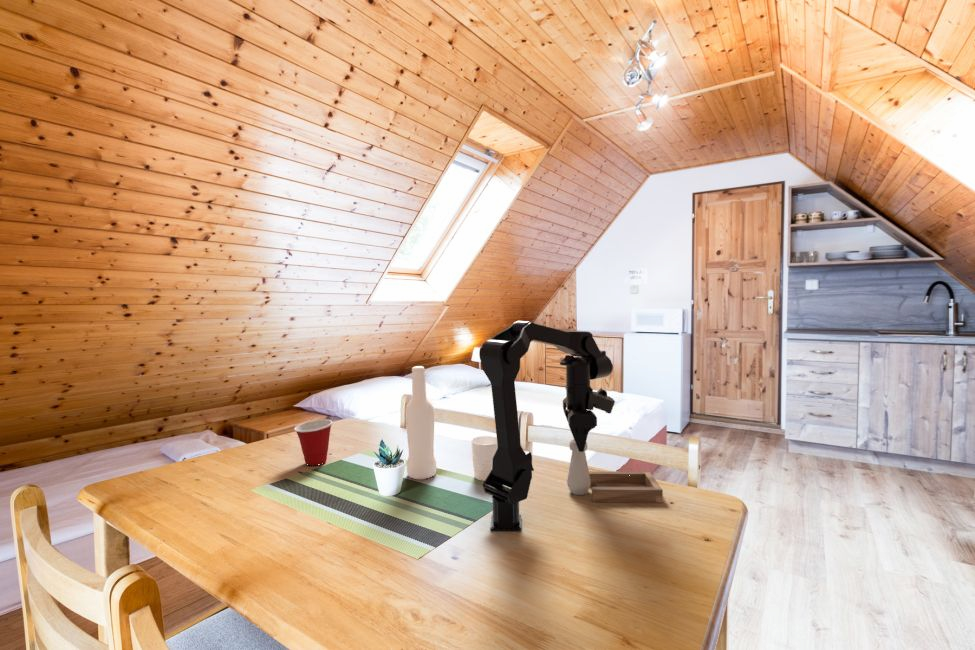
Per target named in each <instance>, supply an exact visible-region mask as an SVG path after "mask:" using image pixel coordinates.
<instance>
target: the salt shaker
mask: <svg viewBox="0 0 975 650" xmlns="http://www.w3.org/2000/svg"><path fill="white" fill-rule="evenodd" d="M568 448H569V449H570V451H571V457H570V462H569V468H568V471H567V479H566V485H567V487H568V489H569V492H570V494H572V493H573V495H575V496H585V495H586V494H588V493H589V490H590V489H591V488H590V487H591V486H592V485H591V481H590V476H589V472H590V471H589V466H588V461H587V456H586V451H587V450H588V443H587V441H586V444H585V448H584V451H583V452H579V450H578V448H577V445H576V442H575V440H574V438H573V439H571V440H570V441H569V447H568ZM587 492H588V493H587ZM584 494H585V495H584Z"/></svg>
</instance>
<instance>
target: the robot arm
mask: <svg viewBox="0 0 975 650" xmlns="http://www.w3.org/2000/svg"><path fill="white" fill-rule="evenodd" d="M593 336H594V335H593V333H592V332H590V331H586V330H585V331H583V330H562V329H557V328H554V327H551V326H550V327H549V326H546V325H542V324H539V323H535V322H534V321H529V320H527V321H526V320H525V321H524V320H517V321H514V322H513V323H512V324H511V325H509V326H508V327H507V328H506V329H504V330H502V331H499V332H498V333H496V334H495V335H493V337H491V338H490V339H487V340H486V341H484V343H483V344H482V345H481V347H480V348H479V353H478V354H479V359H480V364H481V366H482V370H483V372H484V374H485V376H486V377H487V379H488V381H489V383H490V386H491V397H492V406H493V414H494V415H493V417H494V424H495V434H496V437H497V444H498V448H497V450H496V452H495V455H494V457H493V463H492V470H491V472H490V473H489V475H488V477H487V478H486V480H485V481H483V483H482V487H483V491H484V493H485V494H488V495H490V496H491V498H492V499H491V500H492V503H491V504H492V505H491V506H492V514H491V519H490V525H489V527H490V529H489V530H490V531H511V532H512V531H513V532H514V531H522V514H520V502H521V501H525V500H527V498H528V496H529V492H530V491H529V490H530V488H531V487H530V486H531V483H532V479H533V472H534V470H535V468H534V466H533V455H532V452H530V451H528V450H524V449H523V447H522V445H521V435H520V424H519V414H518V405H517V394H516V387H515V385H516V384H515V381H516V379H517V376H518V375H519V372H520V369H521V358H523V357H524V356H525V355H526V354H527V353H528V351H529V349H530V346H531V342H535V343H540V344H544V345H549V346H552V347H556V348H557V349H558V351H560V352H562V353H564V354H566V355H565V356H564V358H562V359H561V361H560V362H559V365H560V366H565V371H566V372H565V374H566V375H565V383H566V384H565V392H566V393H565V394H566V397H565V398H563V400H562V409H563V414H564V415H565V418H566V421H567V424H568V427H569V429H570V432H571V434H572V437H573V439H574V440H575V442H576V445H577V448H578V450H579V452H583V451H584V448H585V444H586V442H587V439H588V435H589V432H590V431H592V430H593V429H595V428H596V427H597V426H598V424H597V423H598V418H597V416H596V414H595V413H594V412H593V411H594V408H595V409H598V410H601V411H603V412H605V413H606V414H612V411H613V408H614V406H615V404H616V400H614V398H613V397H611V396H610V395H608V392H607V390H605V389H602V388H599V389H598V390H597V391H593V390H594V389H593V388H592V387H591V380H597V379H601V378H602V379H603V378H607V377H609V376H610V375H611V374H612V373H613V368H614V365H613V363H612V360H611V359H610V357H609V356H607V353H606V352H607V351H606V350H600V348H599V346H598V344H597V342H596V341H595V338H594V337H593Z"/></svg>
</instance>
